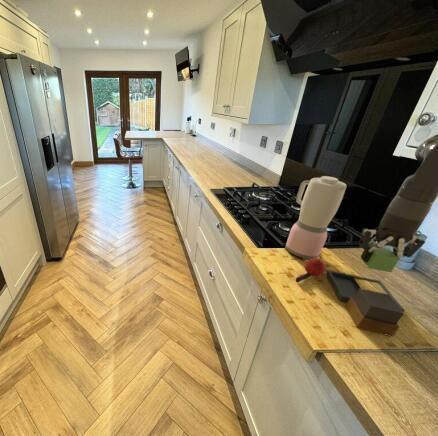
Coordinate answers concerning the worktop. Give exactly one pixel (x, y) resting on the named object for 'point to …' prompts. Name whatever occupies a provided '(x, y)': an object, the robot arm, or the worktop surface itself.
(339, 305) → the worktop surface
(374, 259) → the green block
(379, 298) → the charcoal block
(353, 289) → the tray
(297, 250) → the blender
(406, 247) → the robot arm
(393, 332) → the walnut block
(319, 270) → the onion
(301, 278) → the kitchen knife
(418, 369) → the worktop surface
